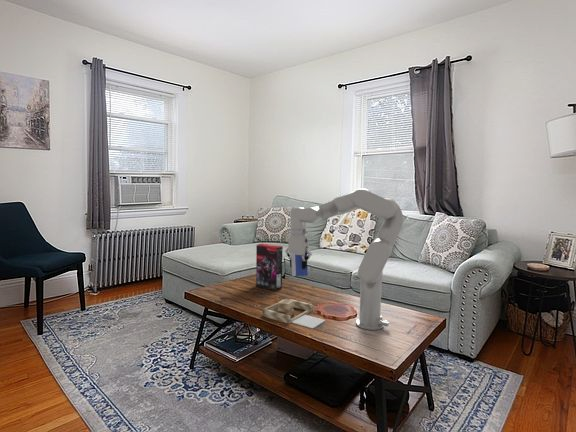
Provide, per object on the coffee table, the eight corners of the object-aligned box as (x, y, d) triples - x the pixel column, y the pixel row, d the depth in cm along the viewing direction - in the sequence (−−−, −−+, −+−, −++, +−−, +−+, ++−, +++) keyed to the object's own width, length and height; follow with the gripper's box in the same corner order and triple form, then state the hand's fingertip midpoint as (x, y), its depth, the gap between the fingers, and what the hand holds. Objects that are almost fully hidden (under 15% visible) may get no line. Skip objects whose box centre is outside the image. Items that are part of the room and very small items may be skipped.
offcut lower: (294, 317, 173) (294, 309, 172) (287, 321, 168) (287, 312, 167) (284, 314, 176) (284, 306, 176) (277, 318, 171) (277, 310, 171)
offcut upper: (293, 308, 173) (293, 300, 173) (288, 312, 168) (288, 304, 168) (282, 307, 175) (282, 299, 175) (278, 310, 170) (278, 302, 170)
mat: (325, 320, 168) (325, 320, 168) (312, 328, 158) (312, 328, 158) (304, 315, 175) (304, 314, 175) (291, 322, 165) (291, 321, 165)
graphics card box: (255, 286, 224) (255, 244, 222) (262, 284, 230) (262, 243, 228) (276, 291, 215) (276, 247, 212) (282, 288, 220) (283, 246, 218)
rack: (312, 311, 181) (312, 304, 181) (289, 323, 164) (289, 316, 164) (287, 304, 190) (287, 298, 190) (262, 316, 173) (262, 309, 173)
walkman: (307, 274, 176) (306, 250, 175) (307, 275, 173) (306, 251, 172) (292, 274, 176) (291, 251, 176) (291, 276, 174) (290, 252, 173)
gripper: (317, 232, 171) (317, 268, 173) (288, 230, 182) (288, 264, 183) (308, 234, 165) (308, 271, 167) (279, 231, 176) (280, 267, 177)
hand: (298, 267), depth 175 cm, fingers closed on walkman, 6 cm apart
